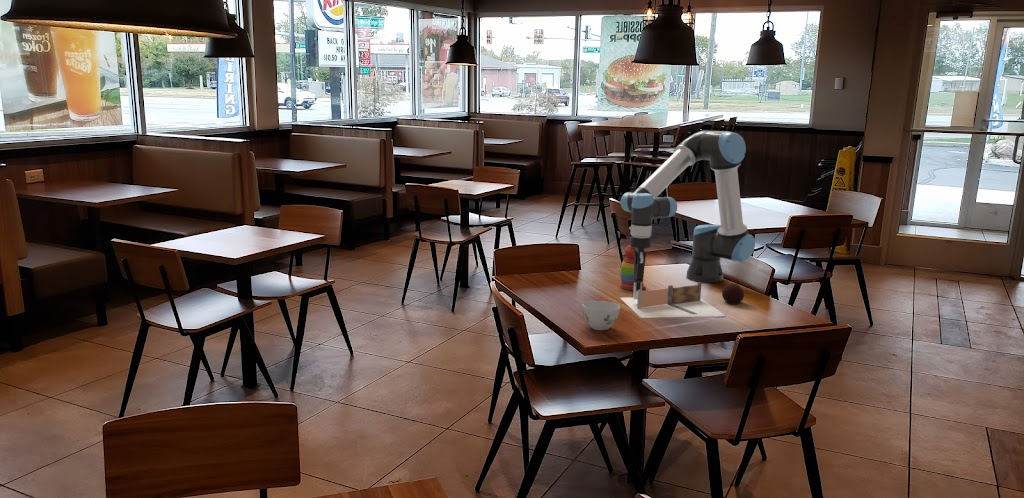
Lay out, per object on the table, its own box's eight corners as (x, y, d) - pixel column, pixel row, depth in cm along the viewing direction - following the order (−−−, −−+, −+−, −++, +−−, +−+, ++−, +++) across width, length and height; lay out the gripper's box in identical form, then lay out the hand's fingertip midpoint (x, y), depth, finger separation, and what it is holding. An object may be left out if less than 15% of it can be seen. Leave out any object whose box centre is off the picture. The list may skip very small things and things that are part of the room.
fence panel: (665, 303, 282) (666, 286, 280) (667, 304, 280) (668, 286, 279) (636, 307, 275) (637, 289, 274) (638, 308, 274) (639, 290, 273)
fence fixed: (698, 299, 289) (699, 281, 288) (701, 300, 288) (702, 282, 286) (665, 303, 282) (667, 285, 281) (669, 305, 281) (670, 286, 279)
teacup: (626, 331, 251) (627, 308, 249) (593, 335, 246) (594, 311, 244) (602, 318, 264) (603, 296, 262) (571, 322, 259) (572, 299, 257)
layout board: (697, 297, 294) (697, 295, 294) (725, 317, 269) (725, 315, 268) (619, 299, 289) (619, 297, 289) (640, 319, 264) (641, 317, 264)
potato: (727, 307, 281) (728, 287, 280) (716, 300, 290) (718, 281, 289) (747, 307, 283) (749, 286, 281) (736, 300, 292) (738, 280, 290)
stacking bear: (646, 291, 302) (649, 247, 298) (621, 290, 302) (623, 246, 298) (642, 284, 312) (645, 241, 309) (617, 283, 313) (620, 241, 309)
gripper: (628, 232, 283) (624, 293, 288) (632, 239, 271) (629, 303, 275) (648, 233, 283) (644, 294, 288) (653, 239, 270) (649, 303, 275)
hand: (637, 298), depth 282 cm, fingers closed
